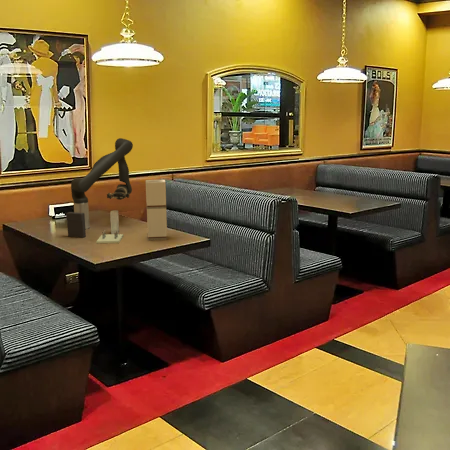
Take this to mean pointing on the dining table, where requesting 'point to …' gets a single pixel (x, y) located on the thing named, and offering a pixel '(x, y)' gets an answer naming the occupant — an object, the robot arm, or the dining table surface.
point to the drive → (114, 221)
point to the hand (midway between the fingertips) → (116, 197)
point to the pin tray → (110, 237)
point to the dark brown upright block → (76, 224)
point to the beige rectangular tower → (156, 209)
